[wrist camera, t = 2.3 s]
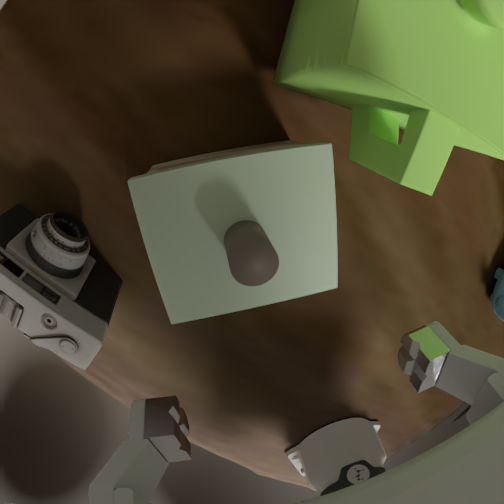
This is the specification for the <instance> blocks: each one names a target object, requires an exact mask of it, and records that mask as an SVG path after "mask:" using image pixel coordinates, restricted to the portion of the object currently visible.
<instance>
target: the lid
mask: <svg viewBox="0 0 504 504" xmlns="http://www.w3.org/2000/svg"><path fill="white" fill-rule="evenodd" d="M127 182H128V186H129V190H130V194H131V198H132V202H133V205H134V209H135V213H136V216H137V220H138V224H139V227H140V230H141V234H142V237H143V241H144V244H145V247H146V251H147V254H148V257H149V260H150V263H151V267H152V270H153V273H154V276H155V279H156V282H157V285H158V288H159V291H160V294H161V297H162V300H163V302H164V305H165V308H166V311H167V314H168V316H169V319H170V322H171V324H176V323H182V322H187V321H192V320H197V319H202V318H207V317H212V316H217V315H222V314H227V313H232V312H236V311H241V310H246V309H250V308H255V307H259V306H264V305H268V304H273V303H277V302H281V301H286V300H290V299H294V298H298V297H302V296H307V295H311V294H315V293H319V292H323V291H327V290H331V289H335V288H338V259H337V219H336V197H335V180H334V165H333V152H332V144H331V143H327V142H322V143H313V144H305V145H297V146H289V147H282V148H275V149H268V150H262V151H255V152H249V153H243V154H237V155H232V156H226V157H221V158H215V159H210V160H205V161H200V162H195V163H191V164H186V165H181V166H177V167H172V168H168V169H163V170H159V171H155V172H151V173H147V174H143V175H139V176H135V177H131V178H129V180H128V181H127Z"/></svg>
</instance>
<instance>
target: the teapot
mask: <svg viewBox="0 0 504 504" xmlns="http://www.w3.org/2000/svg"><path fill="white" fill-rule="evenodd" d="M494 278H496V279H497V282H496V284H495V287H494V290H493V293H492V294H491V296H490V300H491V301H492V304H493V310H494V312H495V314H496V315H497V316H498V317H499V318H500V319H501V320H502V321H504V270H502V269H501V268H498V269H497V270H496V272H495V274H494Z"/></svg>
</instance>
